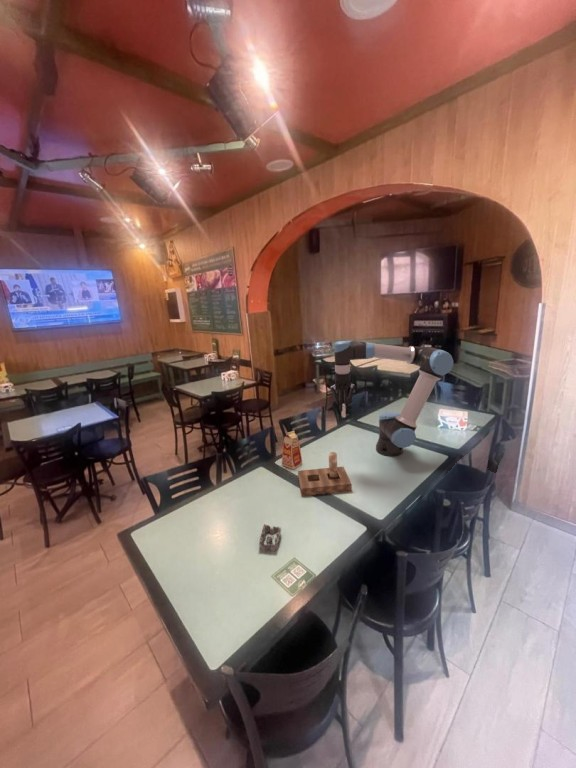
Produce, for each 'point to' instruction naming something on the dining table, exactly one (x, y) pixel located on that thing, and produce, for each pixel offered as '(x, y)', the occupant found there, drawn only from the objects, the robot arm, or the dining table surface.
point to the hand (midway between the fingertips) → (343, 416)
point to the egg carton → (269, 538)
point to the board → (323, 481)
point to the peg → (333, 465)
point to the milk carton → (291, 451)
